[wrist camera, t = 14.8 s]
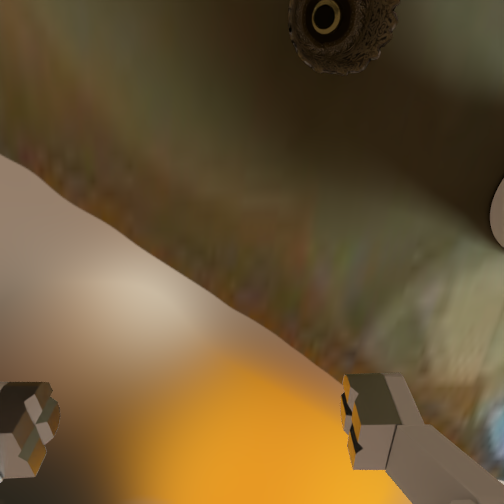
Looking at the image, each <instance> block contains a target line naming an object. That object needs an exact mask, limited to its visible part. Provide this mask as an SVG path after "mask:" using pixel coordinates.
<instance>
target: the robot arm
mask: <svg viewBox="0 0 504 504" xmlns="http://www.w3.org/2000/svg"><path fill="white" fill-rule="evenodd" d="M490 224H491V229H492V232H493V234H494V237H495V238H496V240H497V241H498V242H499V244H500V245H501V246H502V247H504V179H503V180H502V182H501V183H500V185H499V187H498V189H497V191H496V193H495V195H494V198H493V201H492V205H491V210H490ZM343 388H344V393H343V394H342V395H341V400H340V412H341V420H342V425H343V429H344V431H345V432H346V433H347V434H348V435H349V437H348V444H347V447H348V451H349V455H350V459H351V463H352V467H353V469H354V470H386V473H387V474H388V475H389V476H390V477H391V479H392V480H393V481H394V482H395V483H396V484H397V486H398V487H399V488H400V489H401V490H402V492H403V493H404V494H405V495H406V496H407V498H408V499H409V500H410V501H411V502H412V503H413V504H504V485H503V484H502V483H501V482H499V481H498V480H497V479H496V478H495V477H493V476H492V475H491V474H490V473H489V472H487V471H486V470H485V469H484V468H482V467H481V466H480V465H479V464H478V463H476V462H475V461H474V460H473V459H471V458H470V457H469V456H468V455H467V454H465V453H464V452H463V451H462V450H461V449H459V448H458V447H457V446H456V445H454V444H453V443H452V442H451V441H450V440H448V439H447V438H446V437H445V436H443V435H442V434H441V433H440V432H439V431H437V430H436V429H435V428H434V427H433V426H431V425H425V424H424V422H423V420H422V418H421V415H420V413H419V411H418V409H417V406H416V404H415V402H414V400H413V397H412V395H411V393H410V391H409V388H408V386H407V384H406V382H405V379H404V377H403V375H402V374H401V373H381V374H380V373H369V374H345V375H344V377H343ZM52 391H53V390H52V388H51V386H50V384H49V383H48V382H0V483H1V482H2V481H3V480H2V479H4V478H23V477H36V474H37V472H38V470H39V468H40V466H41V464H42V462H43V460H44V457H45V455H46V453H47V452H46V448H45V444H46V443H47V442H49V441H50V440H51V439H52V438H53V437H54V436H55V434H56V431H57V429H58V426H59V420H60V407H59V405H58V402H57V401H55V400H54V399H52V398H51V397H50V395H51V393H52Z"/></svg>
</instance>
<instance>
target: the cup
mask: <svg viewBox="0 0 504 504" xmlns="http://www.w3.org/2000/svg"><path fill="white" fill-rule="evenodd" d="M399 4H400V0H290V2H289V10H288V27H289V34H290V38H291V41H292V43H293V45H294V47H295V49H296V52H297V54H298V56H299V57H300V59H301V60H302V61H303V62H304V63H305V64H307V65H308V66H309V67H311V68H312V69H313V70H314V71H316V72H318V73H321V74H322V72H325V73H329V74H338V75H341V76H346V75H348V73H359V72H361V71H363V70H364V69H365V68H366V67H367V65H368V63H369V62H370V61H371V60H375V59H378V58H379V57H380V54H381V51H380V48H381V47H384V46H385V45H386V44H387V43H388V42H389V41H390V40H391V39H392V32H393V31H392V30H394V29H395V27H396V25H397V23H398V17H397V14H396V13H395V12H394V9H395V7H396V6H397V5H399ZM321 6H329V7H331V8H332V10H333V12H334V20H333V22H332V24H331V25H330V26H329V27H327V28H320V27H319V26H317V24H316V22H315V13H316V11H317V10H318V9H319V8H320V7H321Z"/></svg>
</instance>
